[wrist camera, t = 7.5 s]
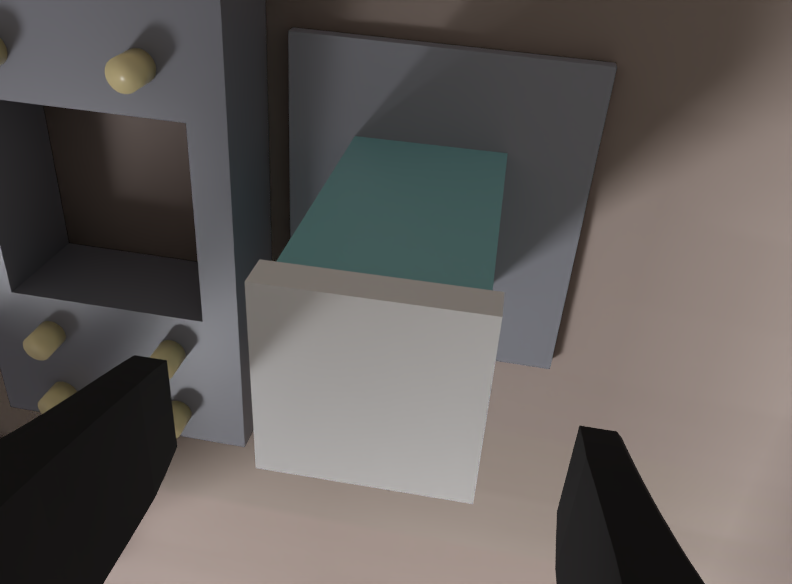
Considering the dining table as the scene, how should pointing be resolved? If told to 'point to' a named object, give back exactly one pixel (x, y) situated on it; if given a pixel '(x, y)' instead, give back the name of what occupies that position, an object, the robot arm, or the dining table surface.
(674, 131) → the dining table surface
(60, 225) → the box
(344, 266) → the plug
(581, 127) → the pad
